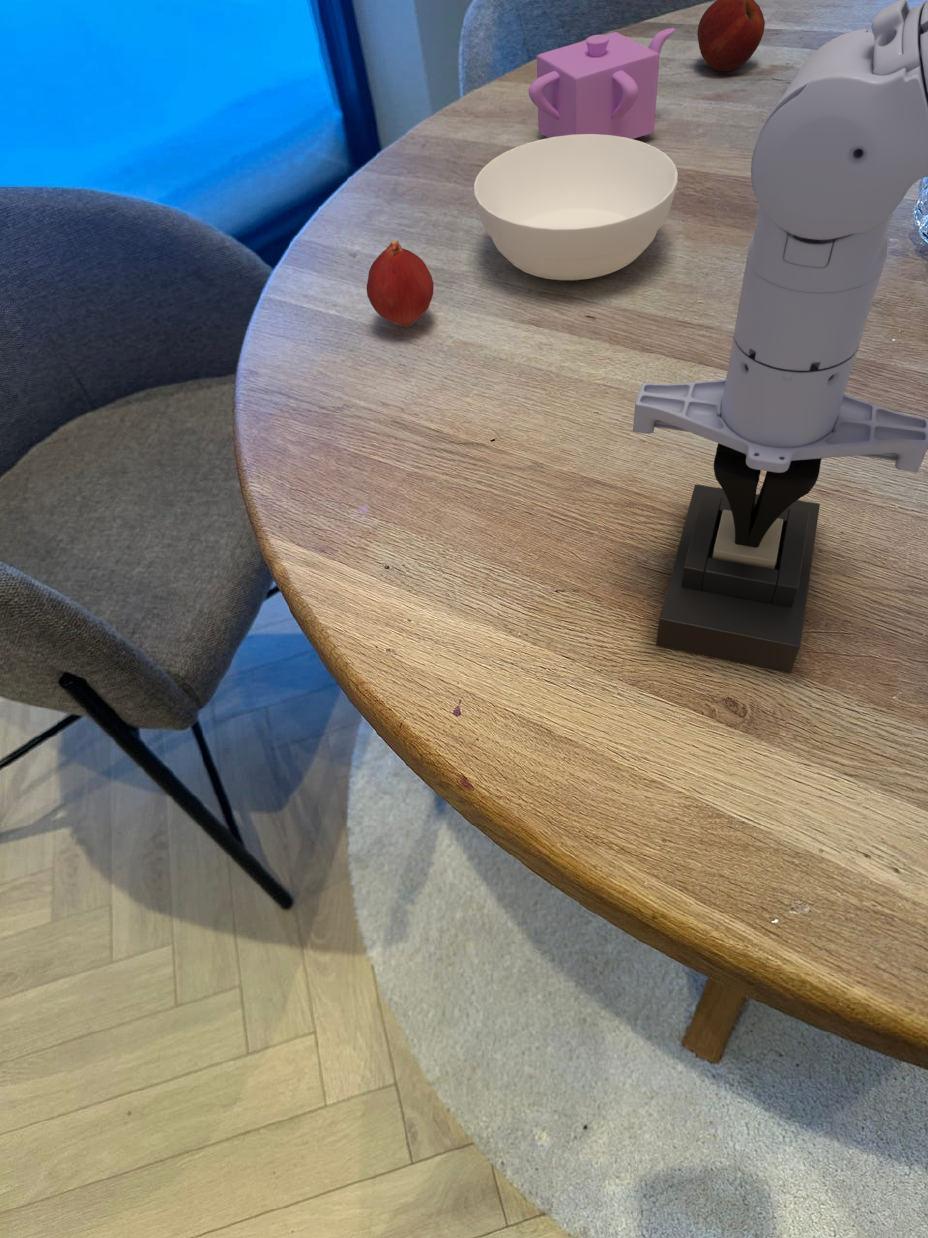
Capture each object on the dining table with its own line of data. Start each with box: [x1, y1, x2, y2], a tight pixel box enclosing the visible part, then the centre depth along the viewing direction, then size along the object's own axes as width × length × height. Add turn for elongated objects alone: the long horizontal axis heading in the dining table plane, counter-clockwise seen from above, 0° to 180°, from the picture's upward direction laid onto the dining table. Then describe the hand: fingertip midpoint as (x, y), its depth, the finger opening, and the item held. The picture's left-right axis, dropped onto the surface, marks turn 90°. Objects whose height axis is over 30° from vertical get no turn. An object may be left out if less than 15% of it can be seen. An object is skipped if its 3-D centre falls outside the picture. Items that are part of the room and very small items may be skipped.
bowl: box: [473, 134, 679, 281], centre depth 79 cm, size 18×18×7 cm
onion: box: [366, 240, 435, 328], centre depth 74 cm, size 6×6×8 cm
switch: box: [712, 510, 783, 569], centre depth 52 cm, size 4×4×2 cm
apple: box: [696, 0, 766, 72], centre depth 103 cm, size 7×8×8 cm
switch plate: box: [655, 484, 821, 674], centre depth 53 cm, size 12×8×4 cm, turn 161°
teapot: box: [527, 27, 676, 140], centre depth 93 cm, size 18×14×10 cm
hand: (748, 534), depth 51 cm, fingers closed, pressing on switch
